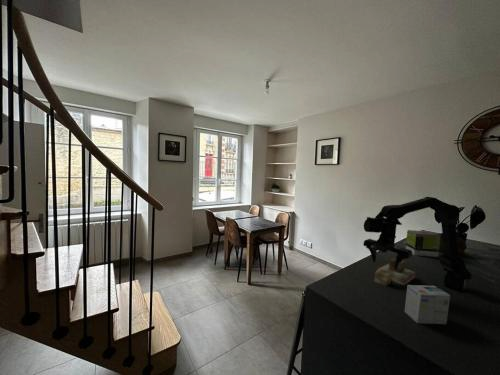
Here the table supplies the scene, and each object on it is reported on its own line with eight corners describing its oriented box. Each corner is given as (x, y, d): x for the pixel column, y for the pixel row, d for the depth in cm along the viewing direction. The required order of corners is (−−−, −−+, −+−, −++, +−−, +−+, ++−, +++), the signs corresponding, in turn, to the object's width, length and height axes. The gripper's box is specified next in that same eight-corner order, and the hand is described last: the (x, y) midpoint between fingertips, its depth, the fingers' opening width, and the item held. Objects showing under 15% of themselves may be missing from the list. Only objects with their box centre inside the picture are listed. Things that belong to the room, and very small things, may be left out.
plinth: (414, 277, 110) (415, 271, 110) (404, 285, 102) (405, 278, 102) (388, 268, 120) (388, 262, 120) (376, 274, 111) (377, 268, 111)
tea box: (427, 252, 152) (430, 231, 150) (438, 257, 142) (441, 235, 140) (404, 249, 153) (407, 229, 152) (413, 255, 143) (416, 233, 142)
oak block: (390, 283, 103) (391, 273, 103) (385, 286, 100) (387, 275, 100) (378, 278, 107) (380, 268, 107) (374, 281, 104) (375, 271, 104)
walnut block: (403, 270, 110) (405, 261, 110) (400, 273, 107) (401, 263, 107) (392, 267, 114) (393, 257, 114) (388, 269, 111) (389, 259, 111)
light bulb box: (430, 312, 82) (434, 284, 82) (447, 325, 76) (451, 295, 75) (403, 311, 82) (406, 283, 81) (417, 324, 75) (421, 294, 74)
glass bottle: (469, 254, 151) (475, 214, 149) (458, 258, 142) (464, 216, 140) (437, 246, 166) (442, 209, 164) (426, 249, 158) (431, 210, 155)
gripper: (359, 230, 104) (356, 261, 106) (405, 241, 90) (400, 278, 91) (370, 227, 111) (367, 257, 112) (414, 237, 96) (410, 272, 98)
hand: (384, 265), depth 103 cm, fingers open, 9 cm apart
